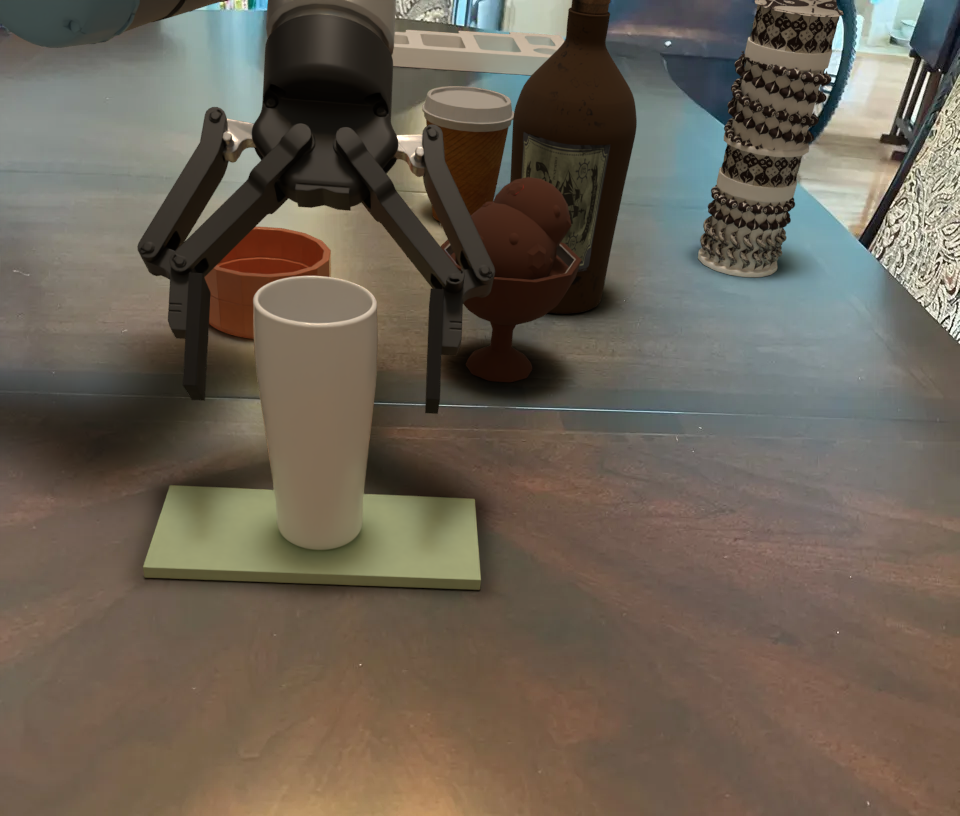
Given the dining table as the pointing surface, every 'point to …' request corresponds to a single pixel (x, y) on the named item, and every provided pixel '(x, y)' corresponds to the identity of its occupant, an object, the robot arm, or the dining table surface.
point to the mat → (271, 558)
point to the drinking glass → (317, 402)
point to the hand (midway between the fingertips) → (314, 400)
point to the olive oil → (579, 142)
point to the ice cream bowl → (519, 270)
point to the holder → (474, 51)
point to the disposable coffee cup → (471, 138)
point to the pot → (260, 273)
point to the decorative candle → (768, 134)
